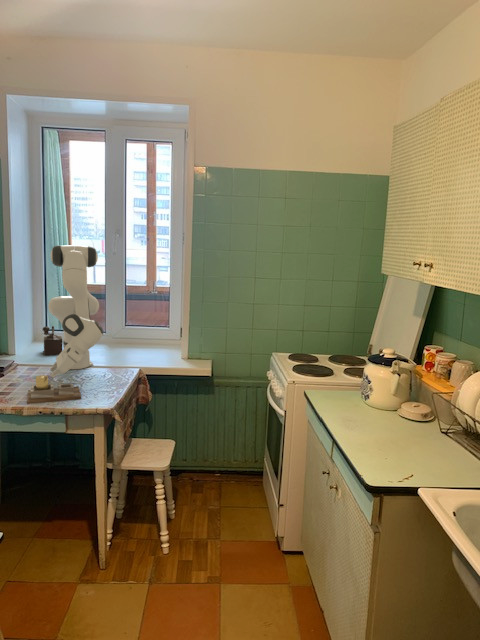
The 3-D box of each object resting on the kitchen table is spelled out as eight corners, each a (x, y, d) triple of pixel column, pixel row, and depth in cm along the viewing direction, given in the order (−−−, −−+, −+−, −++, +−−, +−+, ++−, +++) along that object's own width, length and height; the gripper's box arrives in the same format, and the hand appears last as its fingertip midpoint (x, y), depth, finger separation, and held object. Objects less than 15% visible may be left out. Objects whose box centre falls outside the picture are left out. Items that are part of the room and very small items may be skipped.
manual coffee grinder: (42, 351, 295) (41, 322, 292) (61, 350, 299) (61, 321, 296) (43, 357, 281) (42, 327, 278) (63, 356, 285) (62, 326, 282)
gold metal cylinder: (36, 392, 217) (35, 375, 216) (48, 391, 219) (47, 374, 218) (36, 396, 213) (35, 379, 211) (48, 395, 215) (48, 378, 213)
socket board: (28, 392, 220) (27, 383, 220) (78, 388, 229) (78, 380, 228) (27, 403, 207) (27, 394, 206) (81, 399, 215) (81, 390, 214)
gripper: (67, 341, 226) (45, 362, 224) (69, 352, 207) (46, 375, 205) (77, 350, 228) (56, 371, 227) (81, 361, 210) (57, 384, 208)
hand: (51, 373), depth 216 cm, fingers open, 8 cm apart
